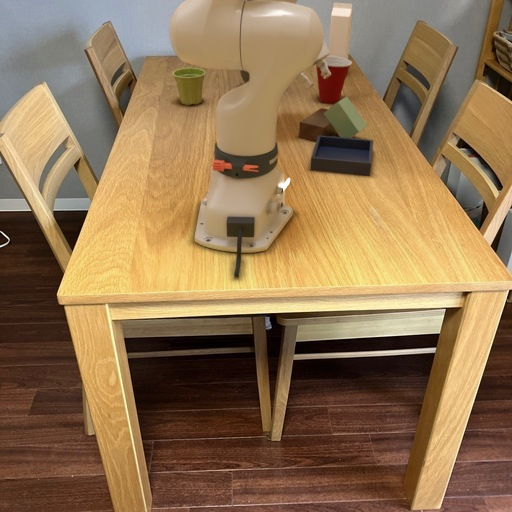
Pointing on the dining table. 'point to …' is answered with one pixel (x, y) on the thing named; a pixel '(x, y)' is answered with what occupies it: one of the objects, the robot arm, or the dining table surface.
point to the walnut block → (316, 126)
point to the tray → (342, 155)
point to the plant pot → (189, 84)
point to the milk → (340, 30)
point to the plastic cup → (333, 79)
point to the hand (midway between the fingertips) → (319, 81)
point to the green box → (345, 118)
